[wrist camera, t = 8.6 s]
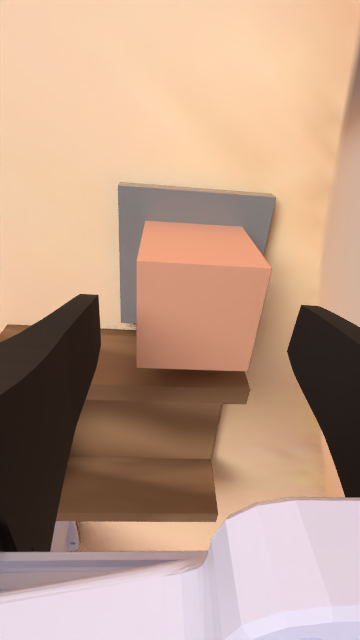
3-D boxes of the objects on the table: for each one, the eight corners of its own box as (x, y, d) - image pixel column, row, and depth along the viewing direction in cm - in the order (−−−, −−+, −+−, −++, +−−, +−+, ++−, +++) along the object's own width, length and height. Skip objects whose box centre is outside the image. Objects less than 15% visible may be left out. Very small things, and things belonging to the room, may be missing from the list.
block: (227, 310, 17) (247, 371, 13) (143, 306, 17) (136, 367, 13) (242, 226, 15) (271, 268, 11) (145, 220, 15) (136, 261, 11)
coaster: (244, 320, 19) (247, 328, 18) (122, 315, 18) (121, 322, 18) (271, 193, 15) (276, 197, 14) (120, 182, 15) (117, 185, 14)
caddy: (208, 460, 26) (216, 521, 22) (39, 457, 25) (15, 521, 21) (233, 334, 19) (249, 389, 15) (7, 324, 18) (-36, 379, 14)
